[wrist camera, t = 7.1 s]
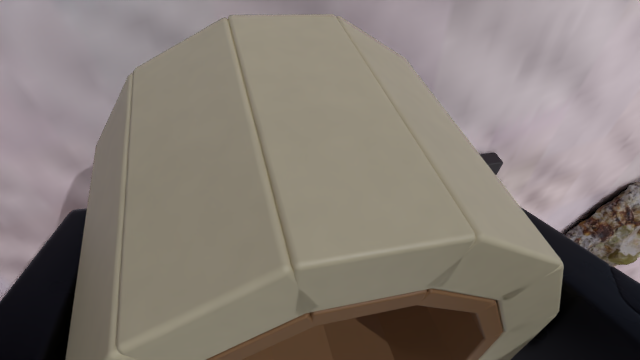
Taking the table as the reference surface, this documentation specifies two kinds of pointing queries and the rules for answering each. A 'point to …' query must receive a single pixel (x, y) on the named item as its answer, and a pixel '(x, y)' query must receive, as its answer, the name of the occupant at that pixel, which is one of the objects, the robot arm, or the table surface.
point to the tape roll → (299, 211)
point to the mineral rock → (613, 229)
